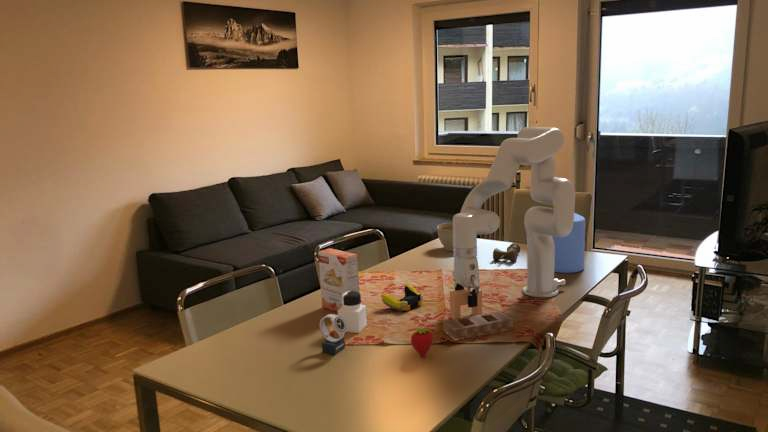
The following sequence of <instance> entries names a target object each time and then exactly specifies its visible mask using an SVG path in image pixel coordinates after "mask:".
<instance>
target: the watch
mask: <svg viewBox="0 0 768 432" xmlns="http://www.w3.org/2000/svg"><path fill="white" fill-rule="evenodd" d="M326 318H327V319H328V318H329V320H330V323H331V326H332V329H333V330H334V332H335V333H337V335H338V336H335V335H330V332H329V330H328V328H327V325H326V324H325V323H326V322H325V320H326ZM319 331H320V333H321V335H322V337H323V338H324V339H326V340H324V341H323V342H321V350H322V351H321V352H322V354H327V355H331V356H336V355H337V354H339V353H340V352H341V351H343V350H344V349H346V346H345V345H346V344H345V343H346V342H345V338H344V337H345V335H346V333H347V332H346V323H345V321H344V319H343V318H342V317H340V316H338V314H335V313H328V314H327V315H325V316H324V317H322V318H321V319H320V321H319Z"/></svg>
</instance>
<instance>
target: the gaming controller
mask: <svg viewBox="0 0 768 432" xmlns="http://www.w3.org/2000/svg"><path fill="white" fill-rule="evenodd" d="M423 297H424V294H422V293H419V291H417V290H416V289H415V288H414V287H413V286H412V285H410V284H407V285H404V296H403V297H402V298H399V299H396V298H395V297H392V296H391V295H390V294H387V293H383V294H382V295H381V301H382V303H384V305H386V306H387V307H389V308H392V309H395V310H396V311H398V312H404V311H407V312H408V311H410V310H413V309H415V308H418V307H421V306H422V304H423V302H424V299H423Z"/></svg>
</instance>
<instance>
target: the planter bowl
mask: <svg viewBox="0 0 768 432" xmlns="http://www.w3.org/2000/svg"><path fill="white" fill-rule="evenodd" d="M436 230H437V237H438V239H439V242H440V243H441V245H442V246H443V249H444V250H445V251H448V252H453V222H446V223H441V224H438V225H437V226H436Z"/></svg>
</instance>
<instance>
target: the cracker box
mask: <svg viewBox="0 0 768 432" xmlns="http://www.w3.org/2000/svg"><path fill="white" fill-rule="evenodd" d="M317 253H318V266H319V278H320V280H319V281H320V292H321V293H320V295H321V307H322V308H323V309H326V310H327V309H328V310H330V311H333V312H336V313H338V310H339V309H340V308H341V307H342V294H343V293H345V292H348V291H356V292H359V293H360V281H359V278H360V277H359V264H358V263H359V262H358V254H357V253H353V252H347V251H343V250H339V249H335V248H331V247H329V248H326V249H322V250H319V251H318V252H317Z"/></svg>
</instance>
